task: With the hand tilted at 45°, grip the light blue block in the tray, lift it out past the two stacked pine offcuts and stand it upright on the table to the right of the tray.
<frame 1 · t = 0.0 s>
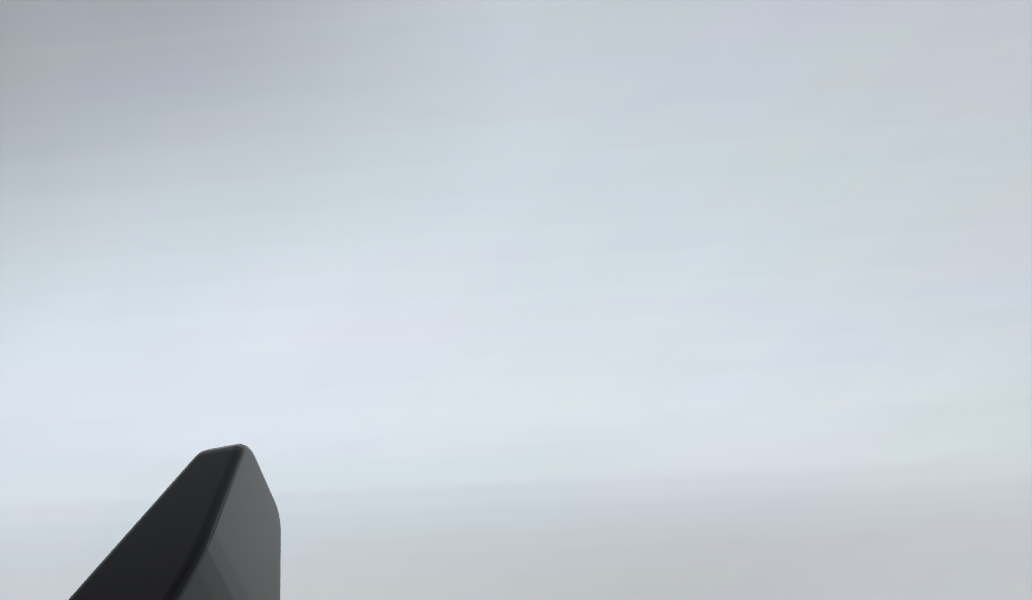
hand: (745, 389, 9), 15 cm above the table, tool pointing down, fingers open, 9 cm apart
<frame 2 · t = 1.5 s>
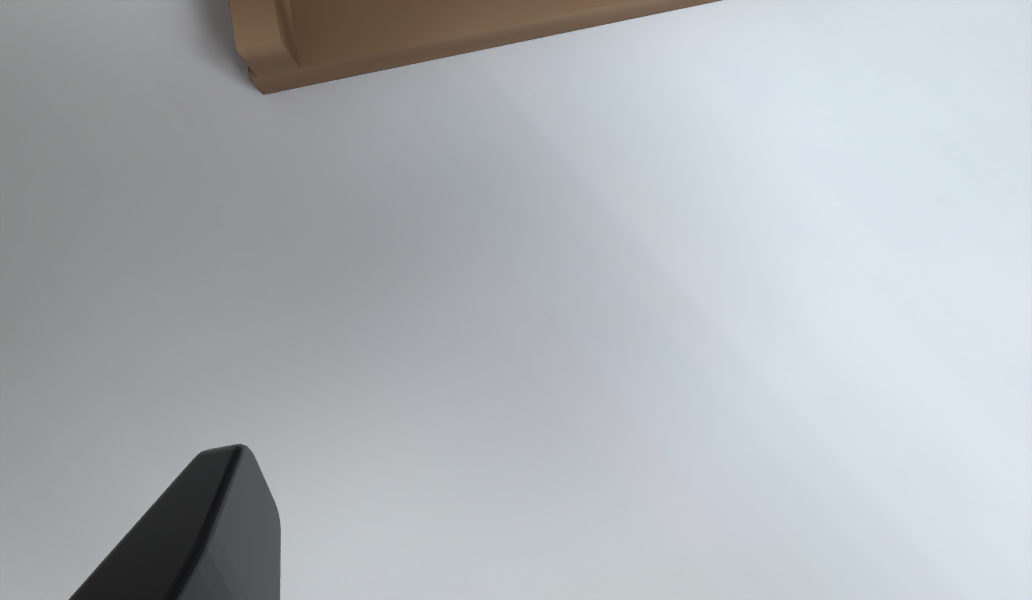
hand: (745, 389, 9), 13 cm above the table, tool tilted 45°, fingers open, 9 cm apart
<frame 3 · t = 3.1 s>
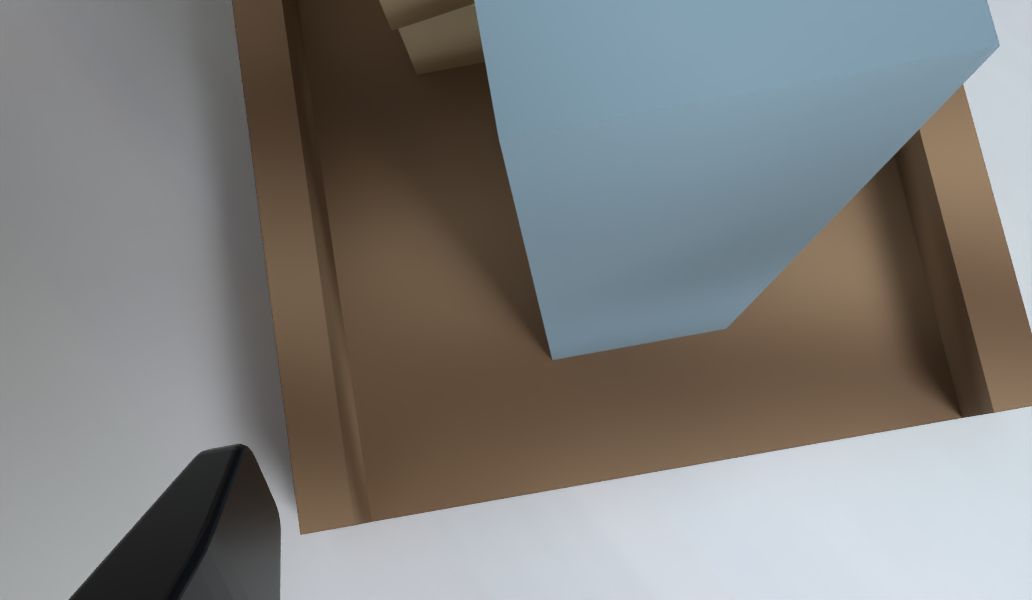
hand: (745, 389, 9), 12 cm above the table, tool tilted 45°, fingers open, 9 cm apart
tray: (613, 236, 21), on the table
light blue block: (615, 224, 20), point 1 cm above the table, touching tray
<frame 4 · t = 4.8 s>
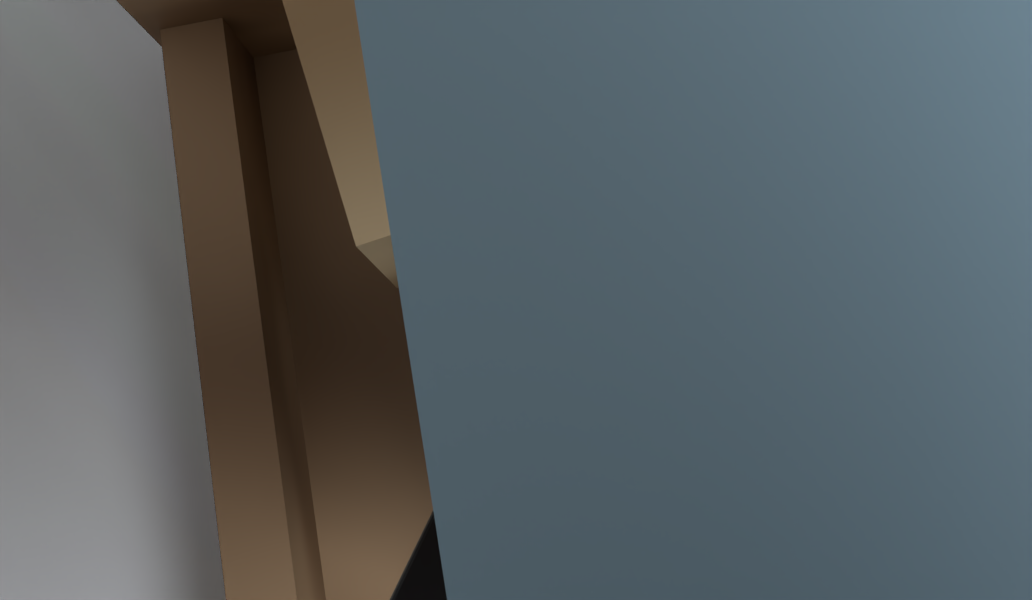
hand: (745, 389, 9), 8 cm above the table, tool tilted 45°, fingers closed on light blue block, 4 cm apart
tray: (686, 514, 16), on the table
light blue block: (694, 517, 15), point 1 cm above the table, touching gripper, tray
offcut upper: (593, 76, 14), point 3 cm above the table, touching offcut lower
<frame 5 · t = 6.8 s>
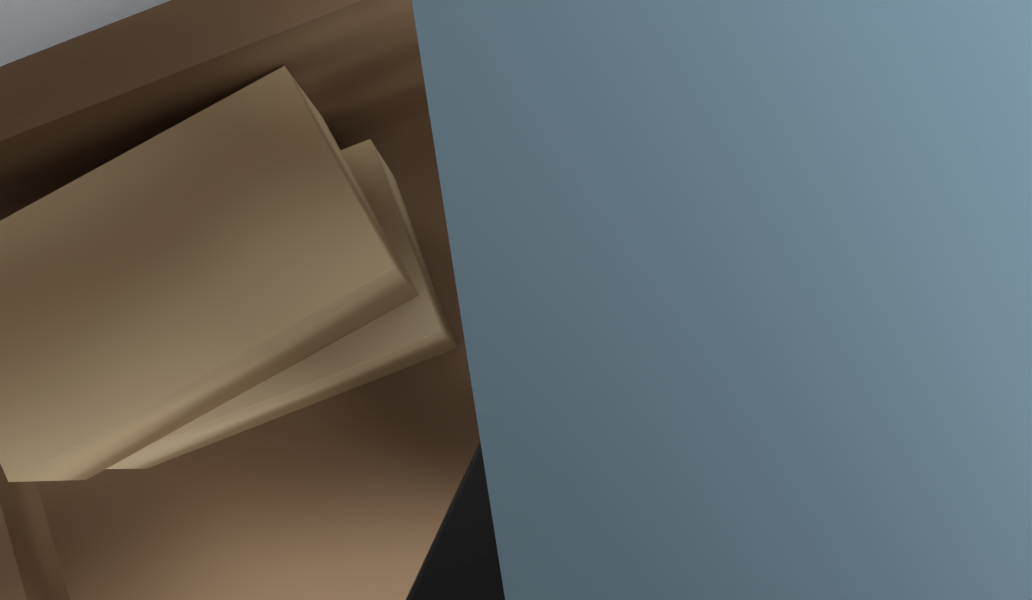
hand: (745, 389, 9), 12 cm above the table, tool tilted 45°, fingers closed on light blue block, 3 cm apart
tray: (375, 587, 21), on the table
offcut lower: (272, 320, 21), point 1 cm above the table, touching offcut upper, tray
light blue block: (694, 515, 15), point 6 cm above the table, touching gripper
offcut upper: (207, 294, 19), point 3 cm above the table, touching offcut lower
when the fingers open (8 cm above the table, at t = 8.7 s): light blue block drops 1 cm, on the table.
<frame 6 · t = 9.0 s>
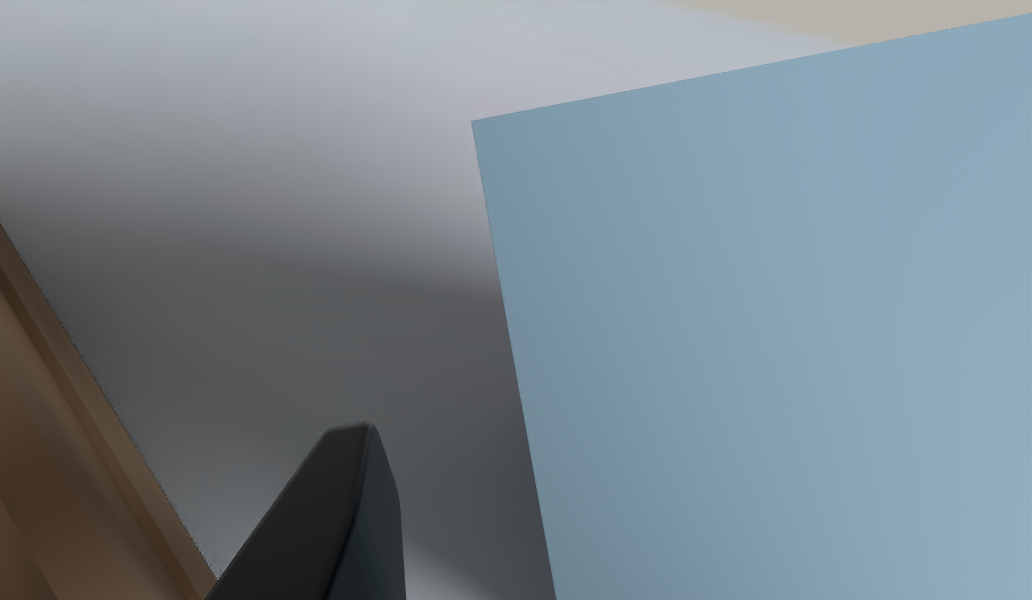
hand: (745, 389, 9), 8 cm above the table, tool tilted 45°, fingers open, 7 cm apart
light blue block: (683, 511, 17), on the table
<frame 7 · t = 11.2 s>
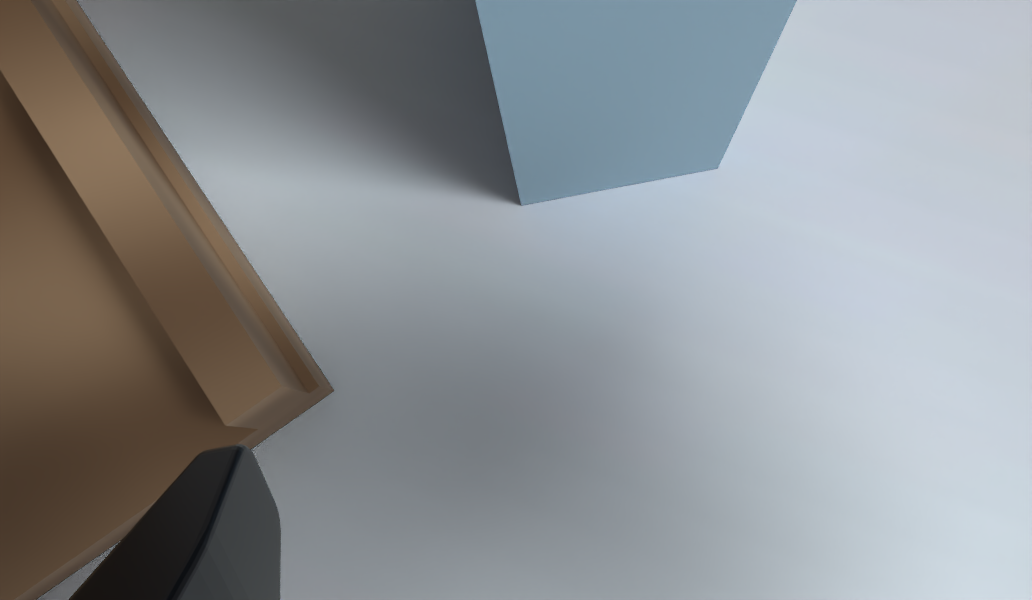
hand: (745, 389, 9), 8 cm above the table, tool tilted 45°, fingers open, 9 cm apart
light blue block: (592, 55, 18), on the table
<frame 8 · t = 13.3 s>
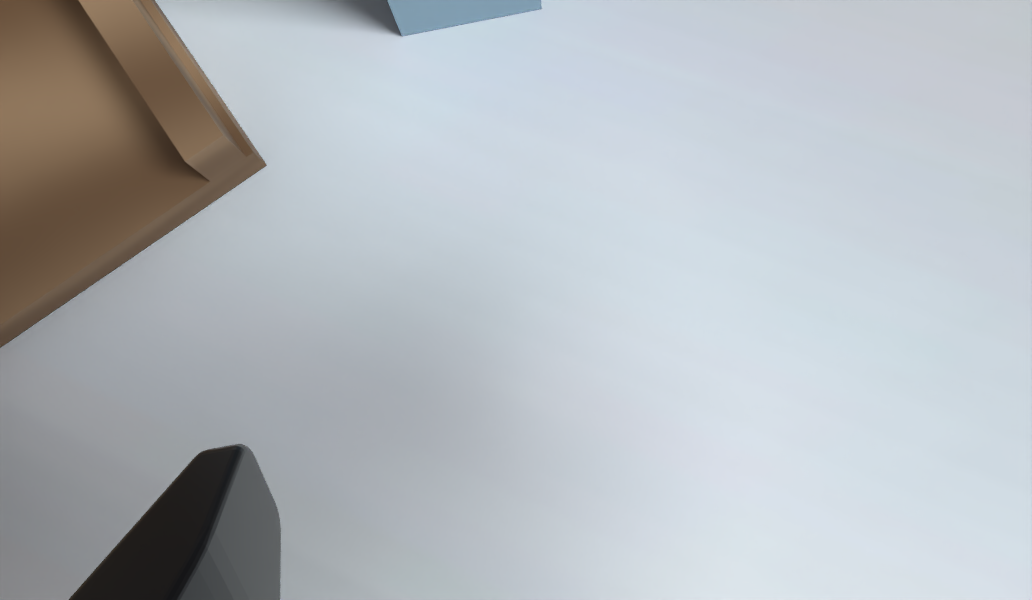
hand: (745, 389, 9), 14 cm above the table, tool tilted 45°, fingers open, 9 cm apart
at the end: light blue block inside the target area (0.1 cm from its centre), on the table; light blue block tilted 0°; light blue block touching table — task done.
